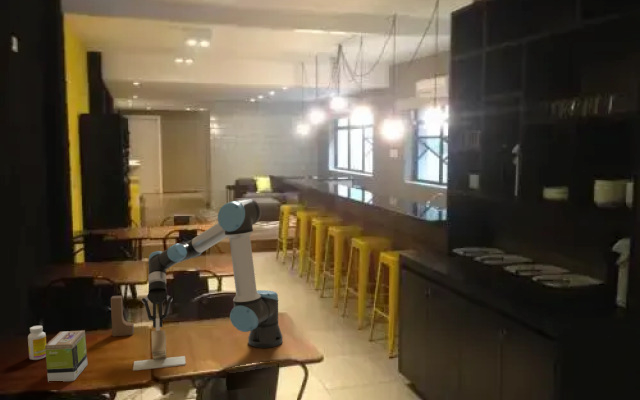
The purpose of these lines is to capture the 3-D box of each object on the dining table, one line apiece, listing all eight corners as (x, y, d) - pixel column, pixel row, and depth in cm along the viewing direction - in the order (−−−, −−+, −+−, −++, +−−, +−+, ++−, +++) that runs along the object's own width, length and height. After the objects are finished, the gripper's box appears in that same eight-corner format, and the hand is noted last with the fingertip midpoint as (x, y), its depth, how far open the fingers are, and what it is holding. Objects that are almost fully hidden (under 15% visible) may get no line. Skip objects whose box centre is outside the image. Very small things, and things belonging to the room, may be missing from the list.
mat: (185, 357, 227) (185, 355, 227) (185, 364, 219) (185, 363, 219) (134, 362, 222) (134, 361, 222) (133, 370, 214) (132, 369, 214)
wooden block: (134, 332, 258) (132, 294, 256) (132, 335, 253) (131, 297, 251) (113, 333, 256) (112, 295, 254) (112, 336, 251) (110, 298, 249)
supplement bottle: (50, 355, 230) (49, 325, 228) (38, 361, 224) (36, 330, 222) (38, 353, 232) (36, 324, 231) (25, 359, 226) (23, 329, 224)
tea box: (62, 366, 219) (60, 330, 217) (88, 365, 219) (86, 329, 218) (46, 382, 204) (44, 344, 202) (74, 381, 205) (72, 343, 203)
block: (165, 339, 229) (164, 329, 215) (166, 358, 226) (165, 350, 212) (153, 340, 228) (151, 331, 214) (153, 359, 225) (151, 351, 211)
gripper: (173, 287, 245) (174, 336, 230) (142, 289, 241) (141, 339, 227) (172, 278, 239) (173, 328, 225) (141, 281, 236) (140, 331, 221)
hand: (157, 334), depth 226 cm, fingers closed
